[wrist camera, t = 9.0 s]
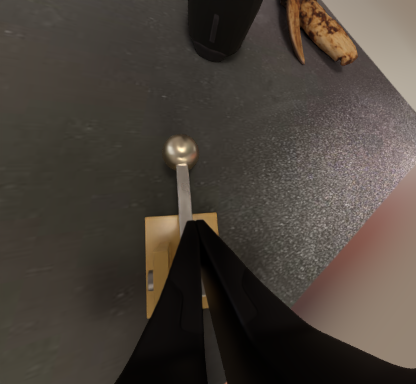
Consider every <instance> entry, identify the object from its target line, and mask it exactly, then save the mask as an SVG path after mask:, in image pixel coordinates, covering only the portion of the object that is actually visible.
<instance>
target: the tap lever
mask: <svg viewBox="0 0 416 384" xmlns="http://www.w3.org/2000/svg"><path fill="white" fill-rule="evenodd" d="M162 156H163V159H164V161H165V163H166V164H167V166H168V167H170V168H171V169H173V170H175V171H176V177H177V194H178V212H179V229H180V239H181V236H182V233H183V230H184V227H185V225H186V222H187V221H188V220H193V218H192V206H191V194H190V182H189V171H188V170H190V169H191V168H193V167H194V166H195V165H196V163H197V161H198V159H199V148H198V145H197V144H196V142H195V141H194V140H193V139H192V138H191V137H189V136H187V135H184V134H176V135H173V136H171V137H170V138H168V139H167V140H166V142H165V143H164V145H163V149H162ZM201 281H202V278H201ZM204 296H206V294H205V290H204V286H203V282H202V297H204Z"/></svg>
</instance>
